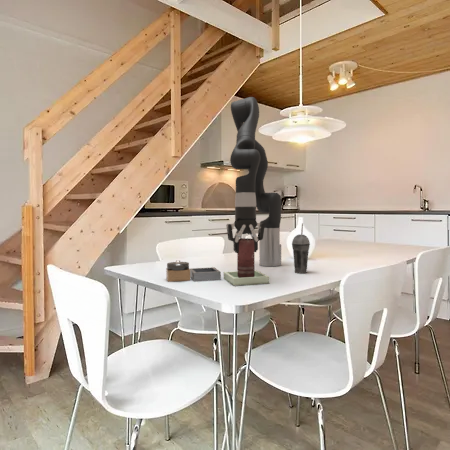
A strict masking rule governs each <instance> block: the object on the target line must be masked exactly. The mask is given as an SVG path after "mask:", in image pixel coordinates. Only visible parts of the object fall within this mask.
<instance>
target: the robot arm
mask: <svg viewBox="0 0 450 450" xmlns="http://www.w3.org/2000/svg"><path fill="white" fill-rule="evenodd" d="M230 111H231V115H232V116H231V117H232V119H233V122H234V125H235V127H236V130H237V133H236V141H235V146H234V148H233V150H232V151H231V154H230V158H229V160H230V162H229V163H230V165H231V166H232V168H233V169H235V170H247V171H248V173H247V174H244V175H239V176H236V178H235V197H234V219H235V220H234V222H232V223H227V224H226V232H227V239H228V241H230V242H232V243H233V251H234V252H235V253H236V254H237V253H239V243H238V240H239V239H241V237H242V235H247V234H248V235H249V236H250V237H251V239H253V240H254V253H257V251H258V250H259V257H258V258H259V260H258V261H259V266H261V267H278V266H282V244H280V243H281V242H280V241H281V240H280V239H281V238H280V237H281V235H280V234H281V233H280V229H281V228H280V226H281V221H282V204H283V203H282V197H281V195H280V193H278V192H266V191H265V186H264V181H265V180H264V179H265V177H266V174H267V171H268V167H269V162H268V158H267V152H266V150H265V147H263V145H262V144H261V143H259V141H257V140H256V132H257V127H258V123H259V120H260V119H259V118H260V107H259V104H258V100H257V98H255V97H253V96H249V97H246V98H242V99H238V100H236V101H235V100H234V101H232V102H231V104H230ZM257 211H258V212H259V213H260V214H261V213H262V214H268V216H267V217H266V218H265V219H263V220H261V221H260V222H259V223H258V222H257ZM234 227H235V229H236V231H235V234H234V232H233V230H234ZM256 228H257V229H258V231H257V233H256V231H255V229H256Z"/></svg>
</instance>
